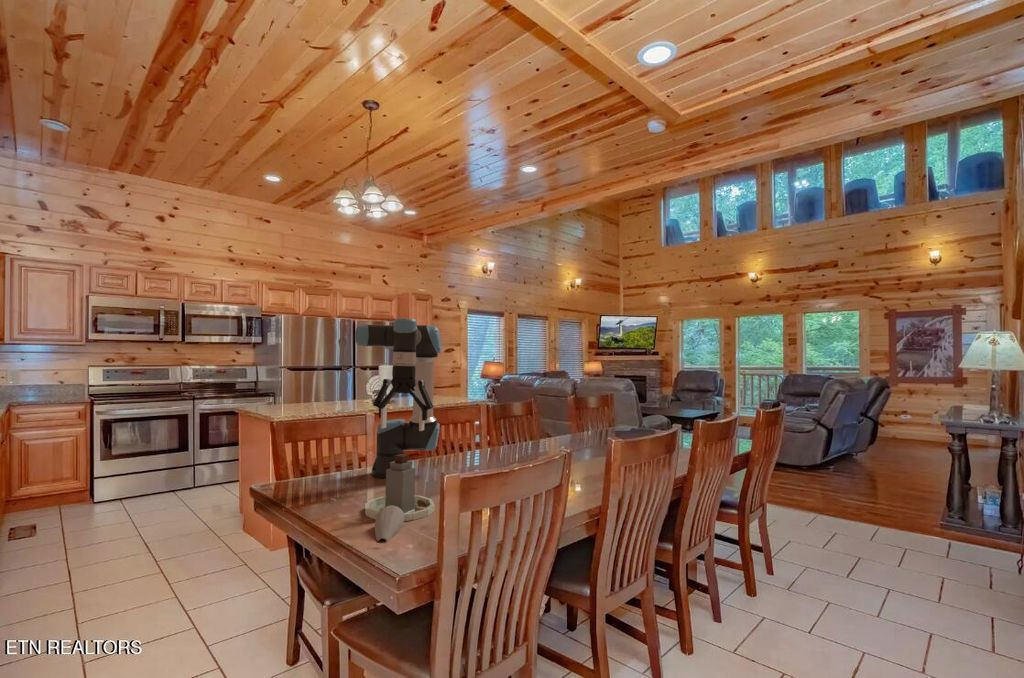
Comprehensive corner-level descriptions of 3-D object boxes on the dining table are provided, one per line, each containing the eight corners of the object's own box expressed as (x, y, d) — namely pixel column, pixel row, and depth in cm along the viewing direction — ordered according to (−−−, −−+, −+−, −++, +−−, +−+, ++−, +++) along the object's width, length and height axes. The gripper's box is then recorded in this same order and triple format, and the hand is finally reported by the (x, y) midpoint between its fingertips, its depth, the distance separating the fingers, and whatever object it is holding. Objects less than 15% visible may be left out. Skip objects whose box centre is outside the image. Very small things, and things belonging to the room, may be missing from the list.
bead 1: (419, 504, 176) (419, 498, 176) (427, 505, 175) (427, 499, 175) (416, 507, 173) (416, 501, 173) (423, 507, 173) (424, 501, 173)
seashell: (391, 559, 150) (401, 510, 161) (407, 547, 143) (416, 496, 154) (363, 552, 147) (375, 502, 158) (378, 539, 140) (389, 488, 150)
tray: (384, 501, 182) (384, 492, 183) (442, 507, 178) (443, 497, 178) (352, 521, 161) (352, 510, 161) (417, 528, 156) (418, 517, 156)
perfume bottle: (384, 511, 168) (386, 455, 168) (397, 505, 174) (399, 452, 174) (401, 514, 165) (403, 458, 165) (414, 508, 171) (415, 454, 171)
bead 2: (416, 512, 167) (417, 506, 167) (425, 513, 167) (425, 507, 167) (413, 515, 165) (413, 508, 165) (421, 516, 164) (421, 509, 164)
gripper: (364, 364, 170) (362, 428, 169) (435, 366, 164) (433, 433, 164) (375, 363, 177) (373, 425, 177) (443, 365, 172) (441, 429, 171)
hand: (402, 429), depth 170 cm, fingers open, 13 cm apart
